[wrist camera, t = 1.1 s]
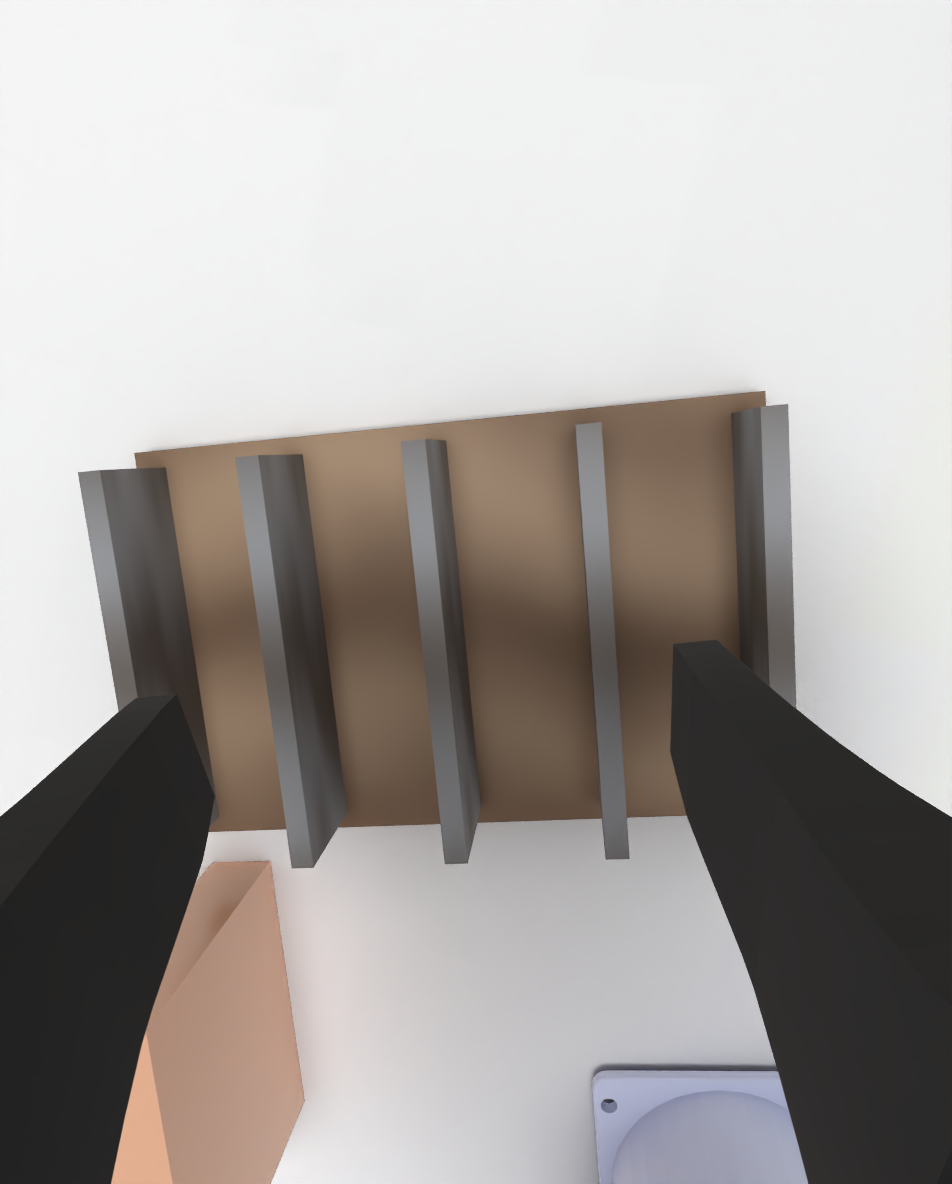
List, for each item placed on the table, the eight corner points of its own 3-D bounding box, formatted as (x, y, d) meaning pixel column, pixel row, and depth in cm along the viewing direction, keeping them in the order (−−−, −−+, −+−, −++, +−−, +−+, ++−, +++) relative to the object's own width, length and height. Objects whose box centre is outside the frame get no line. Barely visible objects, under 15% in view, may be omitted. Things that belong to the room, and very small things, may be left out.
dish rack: (771, 800, 24) (812, 872, 20) (205, 821, 26) (139, 889, 22) (758, 393, 22) (801, 380, 18) (148, 453, 25) (63, 453, 20)
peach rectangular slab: (304, 1100, 28) (202, 1351, 20) (250, 1099, 28) (127, 1347, 20) (270, 860, 27) (146, 1031, 19) (213, 861, 27) (66, 1031, 19)
